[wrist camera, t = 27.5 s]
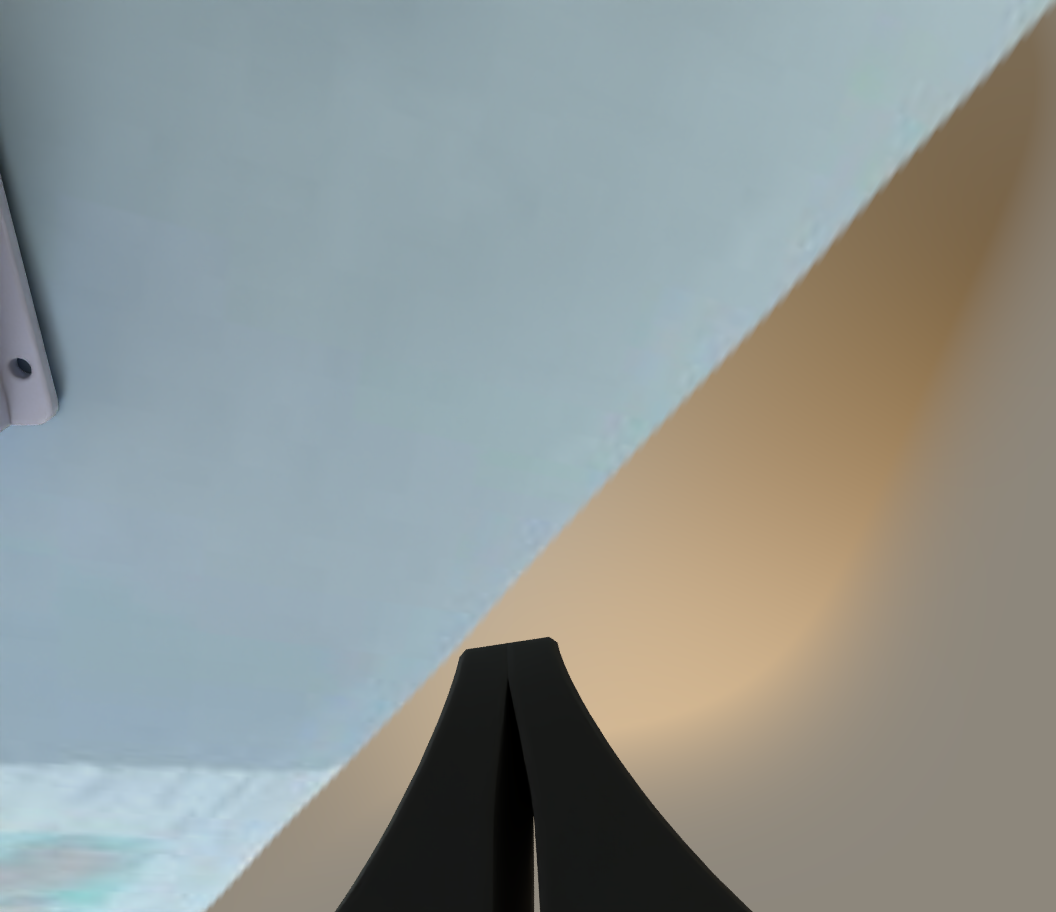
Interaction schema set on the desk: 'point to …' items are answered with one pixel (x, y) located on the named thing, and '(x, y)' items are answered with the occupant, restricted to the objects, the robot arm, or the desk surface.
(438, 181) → the desk surface
